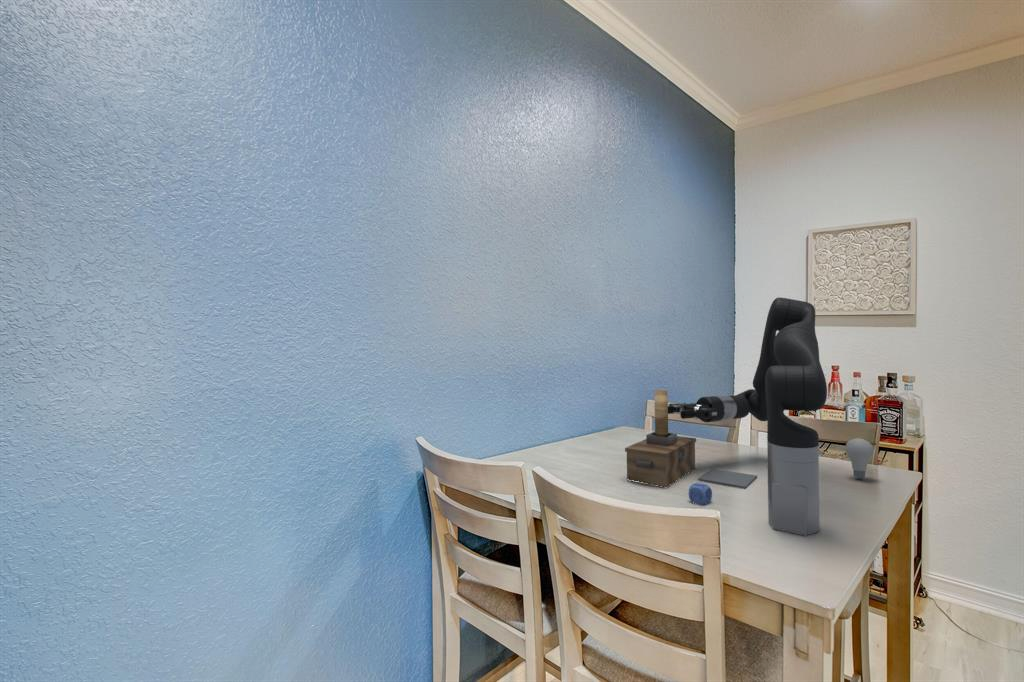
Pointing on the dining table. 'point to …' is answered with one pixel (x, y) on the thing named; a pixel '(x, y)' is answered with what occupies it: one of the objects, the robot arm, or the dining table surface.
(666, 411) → the pin
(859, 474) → the lightbulb
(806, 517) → the robot arm
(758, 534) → the dining table surface
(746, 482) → the mat
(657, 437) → the dark grey square tray
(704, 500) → the decorative dice
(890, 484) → the dining table surface
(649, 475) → the toolbox
